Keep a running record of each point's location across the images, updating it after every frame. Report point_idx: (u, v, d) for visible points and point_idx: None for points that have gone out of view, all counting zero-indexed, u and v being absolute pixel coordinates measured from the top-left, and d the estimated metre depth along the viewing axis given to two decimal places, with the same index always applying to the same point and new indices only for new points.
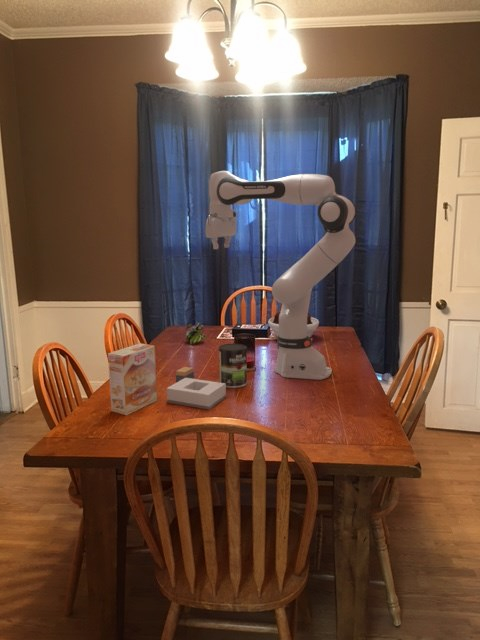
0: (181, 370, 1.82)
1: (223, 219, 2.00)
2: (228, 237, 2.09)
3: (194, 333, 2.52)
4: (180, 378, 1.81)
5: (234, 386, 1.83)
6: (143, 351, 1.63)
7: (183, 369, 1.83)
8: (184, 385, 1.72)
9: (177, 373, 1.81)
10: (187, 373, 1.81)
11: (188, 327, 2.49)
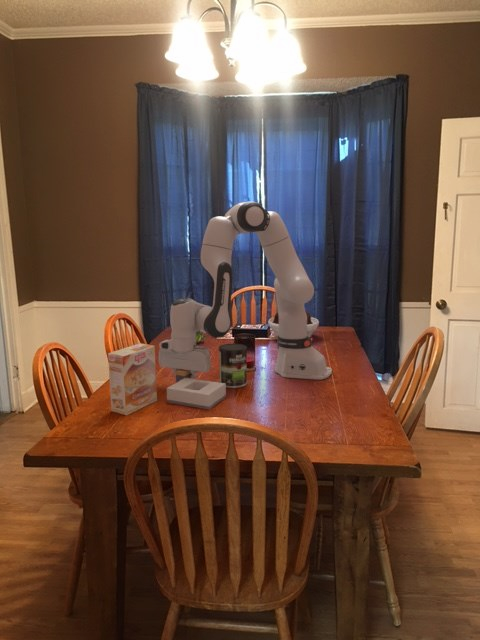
0: (181, 370, 1.82)
1: None
2: None
3: None
4: (180, 378, 1.81)
5: (234, 386, 1.83)
6: (143, 351, 1.63)
7: None
8: (184, 385, 1.72)
9: (177, 373, 1.81)
10: (187, 373, 1.81)
11: None
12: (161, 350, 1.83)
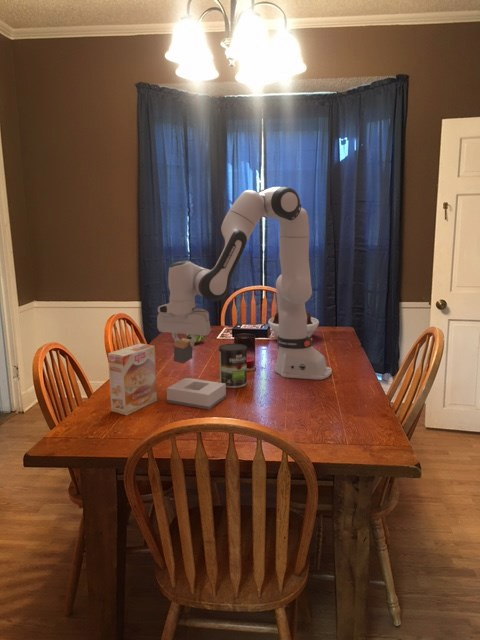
0: (180, 342, 1.79)
1: None
2: (177, 333, 1.82)
3: None
4: (178, 350, 1.78)
5: (234, 386, 1.83)
6: (143, 351, 1.63)
7: (181, 340, 1.80)
8: (184, 385, 1.72)
9: (176, 345, 1.78)
10: (186, 345, 1.78)
11: None
12: (160, 314, 1.80)
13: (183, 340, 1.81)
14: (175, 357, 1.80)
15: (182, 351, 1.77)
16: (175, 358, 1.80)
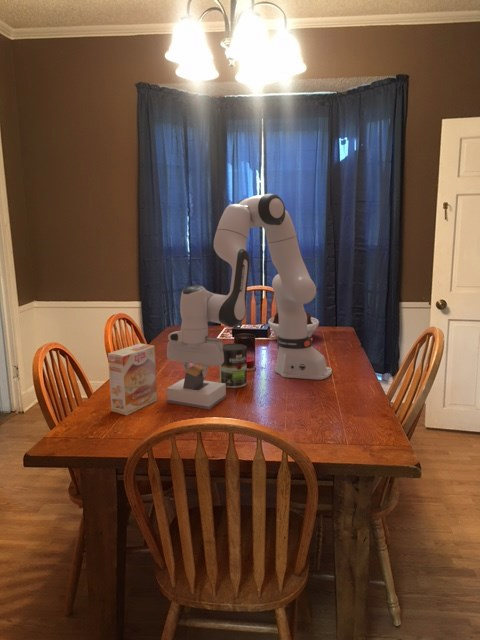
0: (192, 369, 1.68)
1: None
2: None
3: None
4: (190, 377, 1.67)
5: (234, 386, 1.83)
6: (143, 351, 1.63)
7: (194, 367, 1.70)
8: None
9: (187, 371, 1.67)
10: (198, 373, 1.68)
11: None
12: (170, 342, 1.69)
13: (196, 367, 1.70)
14: (185, 384, 1.69)
15: (194, 379, 1.67)
16: (185, 385, 1.69)
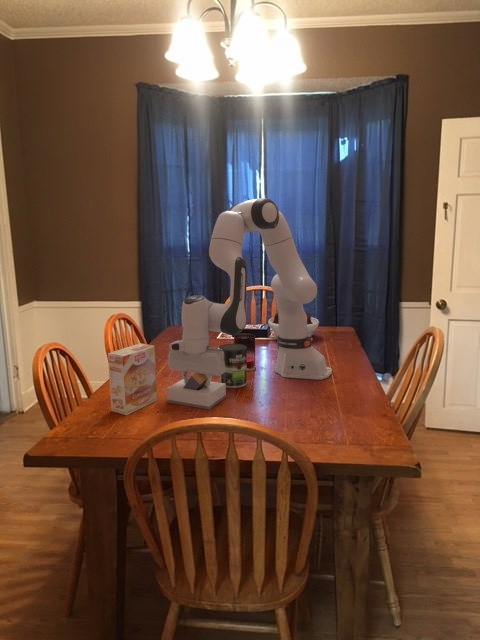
0: (199, 375, 1.67)
1: None
2: None
3: None
4: (193, 382, 1.67)
5: (234, 386, 1.83)
6: (143, 351, 1.63)
7: None
8: (184, 385, 1.72)
9: (194, 376, 1.67)
10: (203, 381, 1.68)
11: None
12: (171, 352, 1.69)
13: None
14: (186, 385, 1.69)
15: (197, 386, 1.67)
16: (186, 386, 1.69)
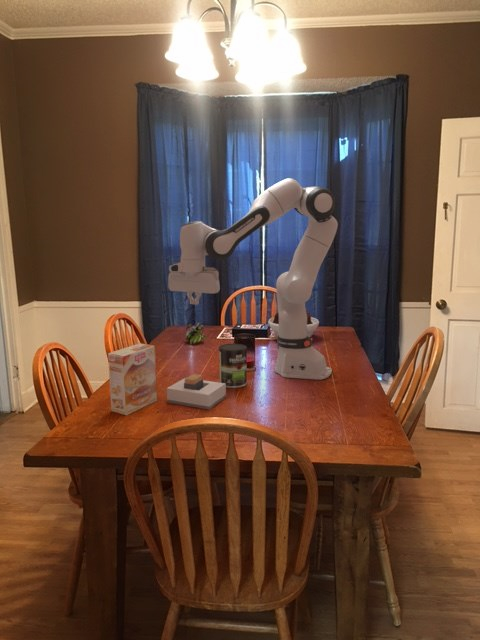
0: (190, 378, 1.69)
1: None
2: (192, 292, 1.88)
3: (194, 333, 2.52)
4: (189, 386, 1.68)
5: (234, 386, 1.83)
6: (143, 351, 1.63)
7: (191, 376, 1.71)
8: None
9: (185, 381, 1.69)
10: (196, 381, 1.69)
11: (188, 327, 2.49)
12: (171, 273, 1.86)
13: (193, 376, 1.71)
14: None
15: (193, 387, 1.68)
16: None
